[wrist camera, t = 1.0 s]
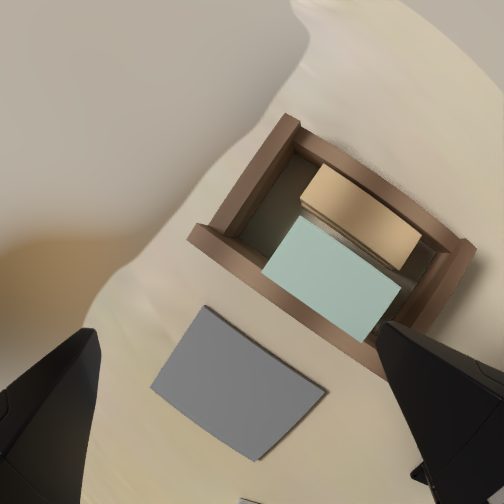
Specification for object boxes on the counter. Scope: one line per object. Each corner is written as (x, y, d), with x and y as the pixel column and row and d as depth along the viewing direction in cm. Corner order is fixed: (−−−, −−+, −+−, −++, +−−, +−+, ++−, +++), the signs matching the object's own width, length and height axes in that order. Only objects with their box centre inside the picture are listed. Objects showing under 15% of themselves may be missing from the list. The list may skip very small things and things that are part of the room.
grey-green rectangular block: (366, 271, 22) (401, 287, 12) (343, 303, 22) (361, 343, 13) (306, 229, 23) (299, 215, 13) (284, 262, 23) (260, 272, 13)
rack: (454, 248, 20) (491, 248, 14) (381, 357, 22) (398, 389, 16) (290, 133, 23) (281, 99, 17) (217, 241, 24) (186, 239, 18)
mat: (325, 389, 23) (325, 392, 22) (255, 459, 24) (254, 462, 23) (205, 304, 25) (202, 306, 24) (152, 385, 26) (149, 387, 25)
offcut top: (413, 236, 20) (421, 235, 18) (392, 268, 20) (399, 270, 18) (323, 170, 21) (323, 163, 19) (301, 202, 21) (299, 197, 19)
